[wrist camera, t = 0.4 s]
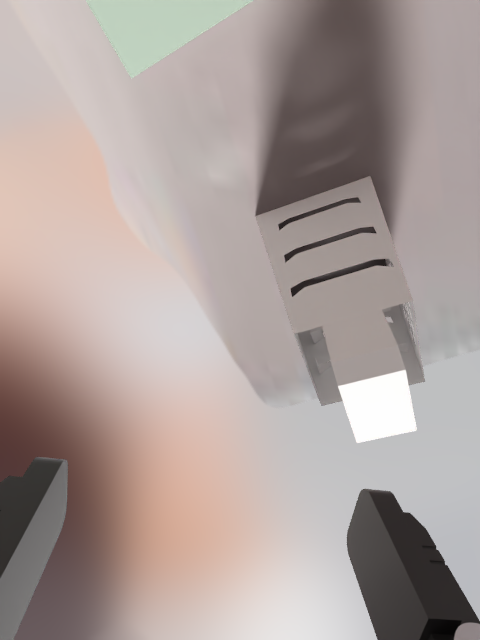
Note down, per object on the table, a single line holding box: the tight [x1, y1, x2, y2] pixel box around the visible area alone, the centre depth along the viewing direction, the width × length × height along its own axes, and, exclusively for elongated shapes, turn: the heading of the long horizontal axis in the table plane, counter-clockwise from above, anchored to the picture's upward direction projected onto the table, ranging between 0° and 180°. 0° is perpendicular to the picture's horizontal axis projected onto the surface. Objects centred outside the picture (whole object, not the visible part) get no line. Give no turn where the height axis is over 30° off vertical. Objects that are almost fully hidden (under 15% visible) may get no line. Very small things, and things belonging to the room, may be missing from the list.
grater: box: [255, 176, 425, 443], centre depth 32 cm, size 10×10×20 cm
